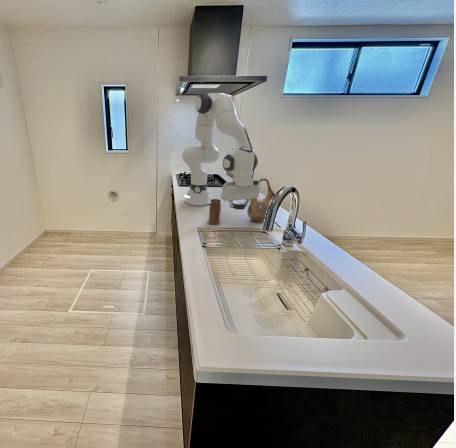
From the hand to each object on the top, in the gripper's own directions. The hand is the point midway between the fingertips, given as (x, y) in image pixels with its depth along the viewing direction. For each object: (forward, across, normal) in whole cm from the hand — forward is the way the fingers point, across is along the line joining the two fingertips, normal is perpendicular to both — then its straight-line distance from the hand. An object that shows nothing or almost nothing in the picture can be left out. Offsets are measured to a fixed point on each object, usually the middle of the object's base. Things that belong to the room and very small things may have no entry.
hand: (238, 207), depth 126 cm
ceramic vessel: (+12, +17, +6) cm, 22 cm away
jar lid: (-2, 0, 0) cm, 2 cm away
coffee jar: (+12, -8, +10) cm, 17 cm away
